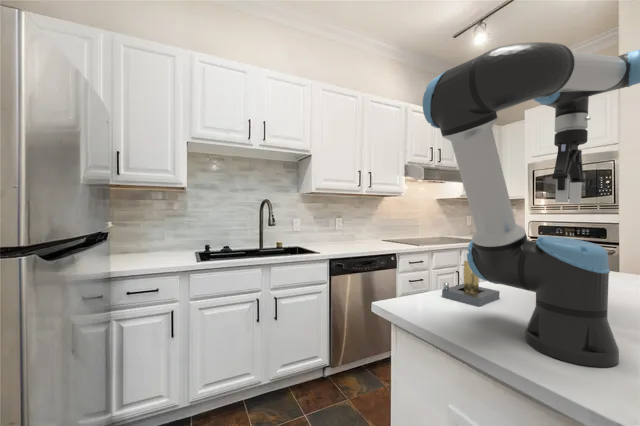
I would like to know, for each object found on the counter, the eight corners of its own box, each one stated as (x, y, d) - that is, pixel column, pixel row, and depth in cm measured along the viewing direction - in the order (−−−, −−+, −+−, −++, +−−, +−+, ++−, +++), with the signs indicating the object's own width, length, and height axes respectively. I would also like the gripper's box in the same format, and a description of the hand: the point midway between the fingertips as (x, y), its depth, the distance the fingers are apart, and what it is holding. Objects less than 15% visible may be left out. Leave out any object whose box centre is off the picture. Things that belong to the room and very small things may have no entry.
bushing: (474, 300, 96) (475, 263, 96) (460, 297, 99) (461, 261, 99) (480, 298, 98) (481, 262, 98) (467, 295, 102) (468, 260, 102)
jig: (479, 306, 90) (479, 291, 90) (441, 296, 100) (441, 283, 100) (499, 298, 98) (499, 285, 98) (462, 290, 108) (462, 277, 108)
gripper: (575, 120, 78) (573, 201, 78) (597, 135, 93) (595, 203, 93) (541, 126, 84) (538, 201, 84) (567, 140, 99) (565, 204, 99)
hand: (568, 203), depth 89 cm, fingers open, 13 cm apart
